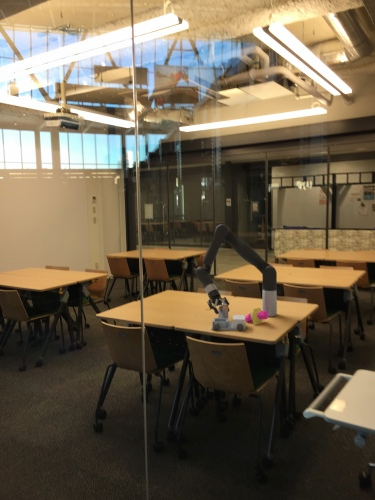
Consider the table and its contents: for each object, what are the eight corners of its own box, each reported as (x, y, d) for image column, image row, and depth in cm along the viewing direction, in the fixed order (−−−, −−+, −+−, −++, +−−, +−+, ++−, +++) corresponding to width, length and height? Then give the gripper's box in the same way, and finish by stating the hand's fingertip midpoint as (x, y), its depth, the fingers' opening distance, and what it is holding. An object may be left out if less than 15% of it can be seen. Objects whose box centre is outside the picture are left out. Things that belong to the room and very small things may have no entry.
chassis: (245, 324, 254) (245, 314, 253) (245, 331, 241) (245, 320, 240) (213, 324, 257) (213, 313, 256) (211, 330, 244) (211, 319, 243)
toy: (254, 319, 268) (247, 306, 267) (275, 316, 254) (267, 302, 253) (246, 328, 262) (238, 315, 260) (267, 326, 248) (259, 312, 247)
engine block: (224, 320, 265) (223, 305, 264) (228, 321, 261) (228, 306, 260) (218, 321, 263) (218, 306, 262) (222, 322, 259) (222, 307, 258)
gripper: (205, 290, 264) (216, 311, 255) (223, 287, 271) (234, 307, 263) (201, 296, 269) (211, 317, 260) (219, 294, 276) (229, 314, 268)
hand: (223, 312), depth 262 cm, fingers open, 8 cm apart
